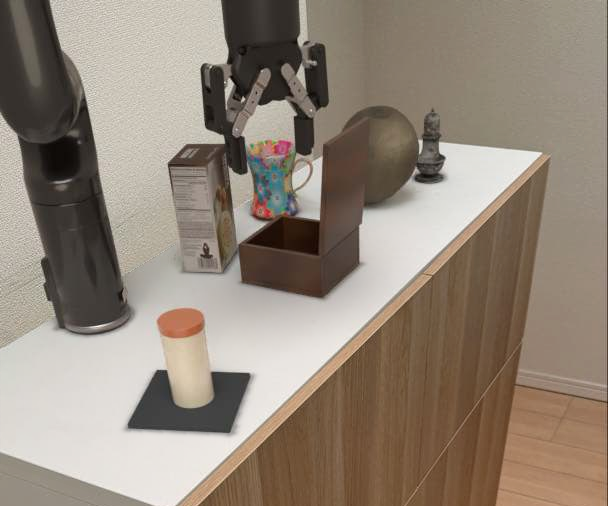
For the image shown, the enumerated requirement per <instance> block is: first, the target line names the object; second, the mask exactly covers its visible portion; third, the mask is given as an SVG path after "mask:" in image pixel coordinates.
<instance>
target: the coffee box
mask: <svg viewBox="0 0 608 506" xmlns="http://www.w3.org/2000/svg"><path fill="white" fill-rule="evenodd" d="M166 164H167V170H168V176H169V177H168V178H169V181H170V188H171V195H172V200H173V206H174V207H173V208H174V212H175V219H176V225H177V231H178V237H179V244H180V249H181V256H182V261H183V269H184V271H185V272H188V273H191V272H192V273H216V274H222V273H224V271H225V269H227V267H228V265H229V263H230V262H231V260H232V258H233V257H234V255H236V252H237V251H238V239H237V231H236V222H235V213H234V204H233V196H232V188H231V187H232V186H231V180H230V178H231V177H230V168H229V166H228V164H227V157H226V149H225V143H186V144H185V145H184V146H183V147H182V148H181V149H180V150H179V151H178V152H177V153H176V154H175V155H174V156H173V157H172V158H171V159H170V160H169V161H168V162H167V163H166Z"/></svg>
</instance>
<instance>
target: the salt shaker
mask: <svg viewBox="0 0 608 506" xmlns="http://www.w3.org/2000/svg"><path fill="white" fill-rule="evenodd" d="M440 127H441V116H440V114H438V113H437V112H435V108H434V107H431V109H430V112H429V113H427V114H426V115H425V116H424V118H423V132H422V134H421V135H420V138H422V144H421V145H422V146H421V151H420V152H419V156H418V161H417V165H416V168H415V169H416V170H417V171H418V172H419V173H417V174H416V175H415V176H414V180H415V181H416V182H418V183H421V184H434V183H439V182H441V181H443V179H444V176H443V175H442V174H440V173H439V172H440V171H441V170H442V169H443V167H444V165H445V161H446V160H447V157H446V156H445V155H444V154H442V153H440V139H441V137H442V134H441V133H440Z"/></svg>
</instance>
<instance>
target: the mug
mask: <svg viewBox="0 0 608 506" xmlns="http://www.w3.org/2000/svg"><path fill="white" fill-rule="evenodd" d="M245 146H246V156H247V166H248V169H249V171H250V174H251V179H252V184H253V195H252V201H251V205H250V213H252V215H254V216H255V217H258V218H261V219H266V220H267V219H269V220H273V219H274V218H276V217H277V216H279V215H280V214H283V215H289V216H293V214H295V213H297V211H298V210H299V207H300V205H299V203H298V201H297V198H298V195H297V193H296V192H298V191H300V190H301V189H303V188H304V187H305V186H306V185H307V184H308V183H309V181H310V180H311V178H312V176H313V172H314V165H313V163H312V161H311V160H310V159H309V158H306V157H300V158H298V159H296V156H297V154H298V153H297V152H296V150H295V142H293V141H290V140H285V139H284V140H283V139H268V140H260V141H256V142H252V143H249V144H247V145H245ZM300 162H305V163H306V164H308V166H309V174H308V176H307V178H306V179H305V181H304V182H303V183H302V184H301V185H299V186H297V187H296V188H294V187H293V186H294V185H293V172H294V171H295V168H296V165H297V164H298V163H300Z"/></svg>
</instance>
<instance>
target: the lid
mask: <svg viewBox="0 0 608 506" xmlns="http://www.w3.org/2000/svg"><path fill="white" fill-rule="evenodd" d="M370 119H371V118H369V117H364V118H363V119H361V120H360V121H358V122H357V123H355V124H354V125H352V126H351V127H349V128H347V129H346V130H344V131H343V132H341V131H340V133H338V134H336V135H335V136H333V137H332V138H330V139H328V140H327V141H326V142H324V143H322V158H321V159H322V161H321V162H322V163H321V185H320V208H319V220H320V228H319V251H318V255H321V256H324V255H325V254H326V253H327V252H329V251H330V250H331V249H332V248H333V247H335V246H336V245H337V244H338V243H339V242H341V241H342V240H343V239H344V238H345V237H346V236H348V235H349V234H350V233H351V232H352V231H354V230H355V229H356V228H357V227H358V226H359V227H361V225H362V224H363V216H364V215H363V214H364V204H365V203H364V192H365V180H366V168H367V156H368V144H369V131H370Z"/></svg>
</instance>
